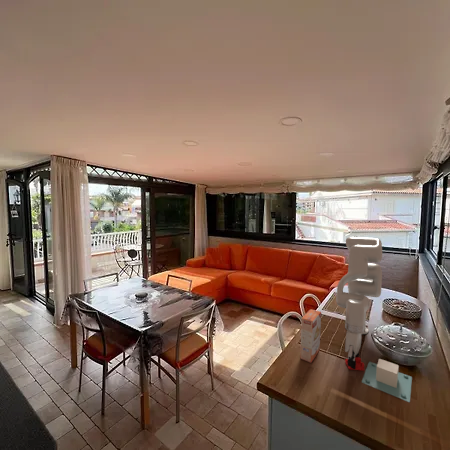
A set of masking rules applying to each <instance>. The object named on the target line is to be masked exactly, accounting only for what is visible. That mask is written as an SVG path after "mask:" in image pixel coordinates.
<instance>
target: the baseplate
mask: <svg viewBox="0 0 450 450" xmlns="http://www.w3.org/2000/svg"><path fill="white" fill-rule="evenodd" d="M377 364H378V363H375V362H372V361H369V362H368V364H367V367H366V369H365V370H364V373H363V376H362V380H361V383H363V384H365V385H367V386H369V387H372V388H374V389H376V390H379V391H381V392H383V393H386V394H388V395H391V396H393V397H396V398H399V399H401V400H403V401H405V402H408V403H410V402H411V394H412V380H413V377H412V376H410V375H408V374H404V373H403V372H399V371H398V382H397V388H395V387H392V386H390V385H387V384H385V383H382V382H380V381H377V380H376V371H377Z"/></svg>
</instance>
